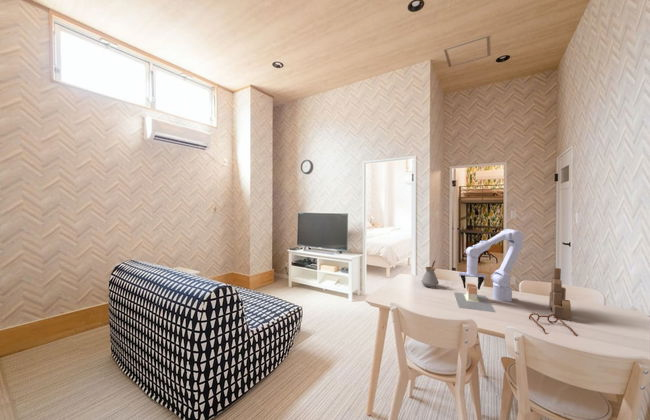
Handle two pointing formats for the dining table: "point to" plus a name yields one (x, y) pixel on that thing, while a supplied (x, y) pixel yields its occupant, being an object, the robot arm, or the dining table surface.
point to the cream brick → (471, 296)
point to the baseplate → (474, 303)
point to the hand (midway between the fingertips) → (471, 288)
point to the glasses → (549, 321)
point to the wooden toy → (559, 297)
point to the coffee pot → (430, 277)
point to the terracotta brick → (471, 288)
